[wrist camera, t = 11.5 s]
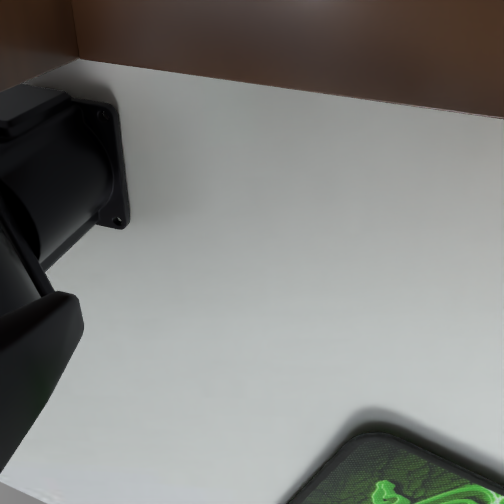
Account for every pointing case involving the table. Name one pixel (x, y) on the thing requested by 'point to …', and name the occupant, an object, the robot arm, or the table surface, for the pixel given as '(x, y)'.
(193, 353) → the table surface
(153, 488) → the table surface
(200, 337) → the table surface
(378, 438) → the mouse mat
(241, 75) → the shelf
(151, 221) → the table surface
